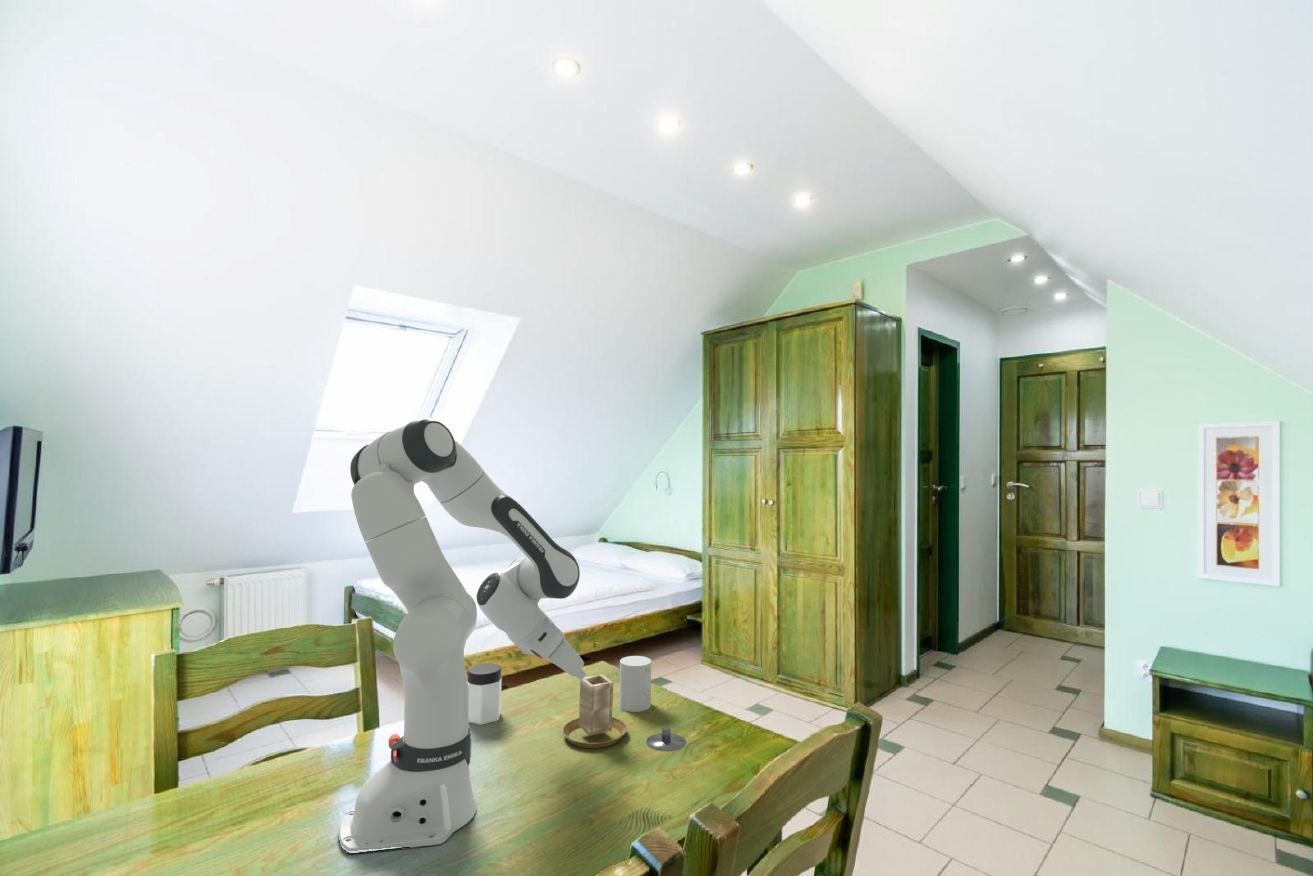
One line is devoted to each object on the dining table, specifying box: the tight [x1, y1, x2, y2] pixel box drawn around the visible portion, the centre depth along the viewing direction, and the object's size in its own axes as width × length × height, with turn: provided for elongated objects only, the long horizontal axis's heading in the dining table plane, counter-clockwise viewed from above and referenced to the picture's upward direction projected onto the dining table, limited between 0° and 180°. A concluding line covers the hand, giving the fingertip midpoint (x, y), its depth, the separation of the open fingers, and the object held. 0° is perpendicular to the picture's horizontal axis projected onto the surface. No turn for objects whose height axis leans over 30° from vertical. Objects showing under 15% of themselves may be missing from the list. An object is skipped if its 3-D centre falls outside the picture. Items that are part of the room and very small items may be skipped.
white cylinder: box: [618, 655, 652, 713], centre depth 162 cm, size 8×8×12 cm
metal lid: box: [645, 726, 687, 752], centre depth 142 cm, size 9×9×4 cm
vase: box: [578, 673, 614, 737], centre depth 144 cm, size 7×6×11 cm
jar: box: [466, 662, 503, 726], centre depth 155 cm, size 9×8×12 cm
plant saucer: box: [562, 716, 628, 749], centre depth 144 cm, size 15×15×3 cm
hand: (572, 670), depth 143 cm, fingers open, 8 cm apart
